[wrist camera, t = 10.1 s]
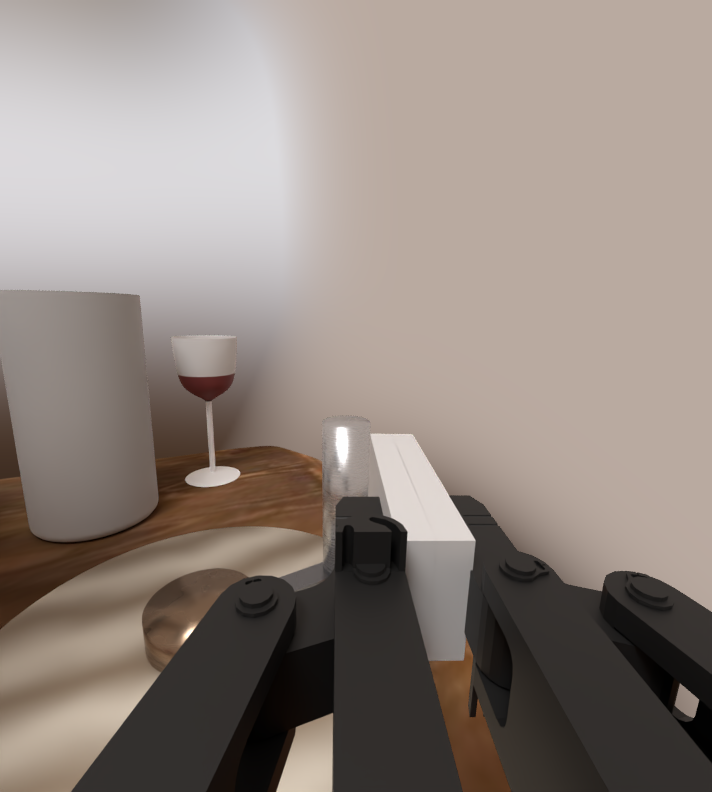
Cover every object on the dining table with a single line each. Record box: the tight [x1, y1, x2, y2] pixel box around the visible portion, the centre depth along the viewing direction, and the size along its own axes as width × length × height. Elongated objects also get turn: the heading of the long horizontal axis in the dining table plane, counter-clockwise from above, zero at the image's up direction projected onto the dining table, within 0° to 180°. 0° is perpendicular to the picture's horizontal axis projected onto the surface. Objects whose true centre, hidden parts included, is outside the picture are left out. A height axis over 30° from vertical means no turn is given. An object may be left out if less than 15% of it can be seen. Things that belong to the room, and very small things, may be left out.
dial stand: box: [0, 526, 333, 792], centre depth 27 cm, size 28×28×2 cm
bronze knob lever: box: [142, 416, 370, 672], centre depth 28 cm, size 16×7×13 cm, turn 122°
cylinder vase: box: [0, 290, 159, 542], centre depth 44 cm, size 12×12×25 cm
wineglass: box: [171, 335, 240, 487], centre depth 56 cm, size 8×9×20 cm
